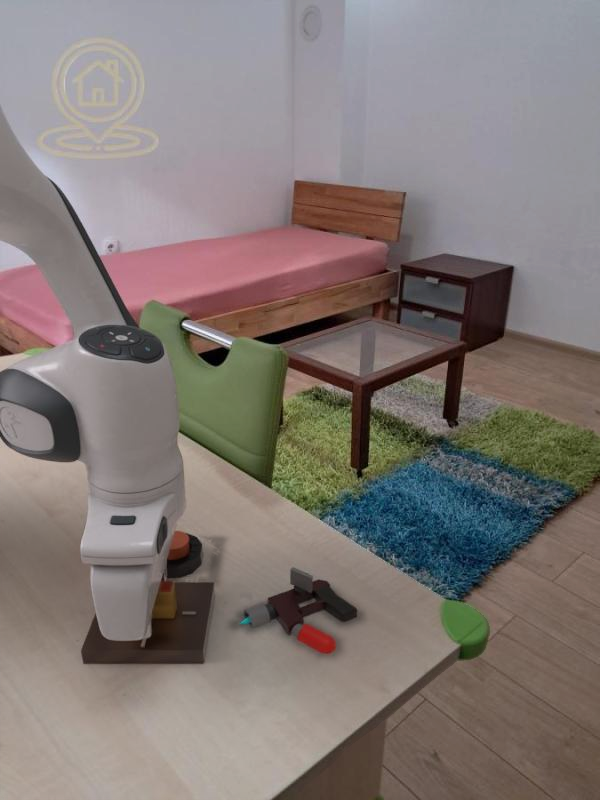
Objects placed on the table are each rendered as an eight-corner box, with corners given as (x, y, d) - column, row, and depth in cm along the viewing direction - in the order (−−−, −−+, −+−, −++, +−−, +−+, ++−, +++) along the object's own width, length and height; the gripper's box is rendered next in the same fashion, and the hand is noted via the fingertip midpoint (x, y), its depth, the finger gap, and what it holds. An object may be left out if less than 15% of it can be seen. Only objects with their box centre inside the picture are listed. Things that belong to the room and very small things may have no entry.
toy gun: (232, 623, 70) (231, 588, 68) (326, 588, 75) (327, 554, 73) (271, 687, 62) (271, 650, 60) (372, 642, 67) (375, 607, 65)
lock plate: (84, 672, 63) (80, 649, 62) (110, 602, 72) (107, 580, 71) (204, 672, 63) (202, 649, 62) (215, 602, 73) (214, 580, 71)
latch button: (157, 560, 75) (155, 548, 74) (162, 542, 78) (161, 530, 78) (187, 560, 75) (186, 549, 75) (191, 542, 79) (191, 530, 78)
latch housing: (128, 590, 74) (125, 570, 73) (142, 548, 82) (140, 528, 80) (213, 590, 74) (212, 570, 73) (220, 548, 82) (219, 529, 80)
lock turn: (126, 619, 66) (122, 590, 64) (130, 608, 67) (126, 580, 66) (174, 618, 66) (171, 590, 64) (177, 608, 67) (174, 580, 66)
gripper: (131, 443, 70) (142, 544, 76) (72, 562, 51) (93, 685, 57) (188, 443, 70) (195, 545, 76) (150, 562, 51) (163, 685, 57)
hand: (151, 606), depth 66 cm, fingers open, 6 cm apart
